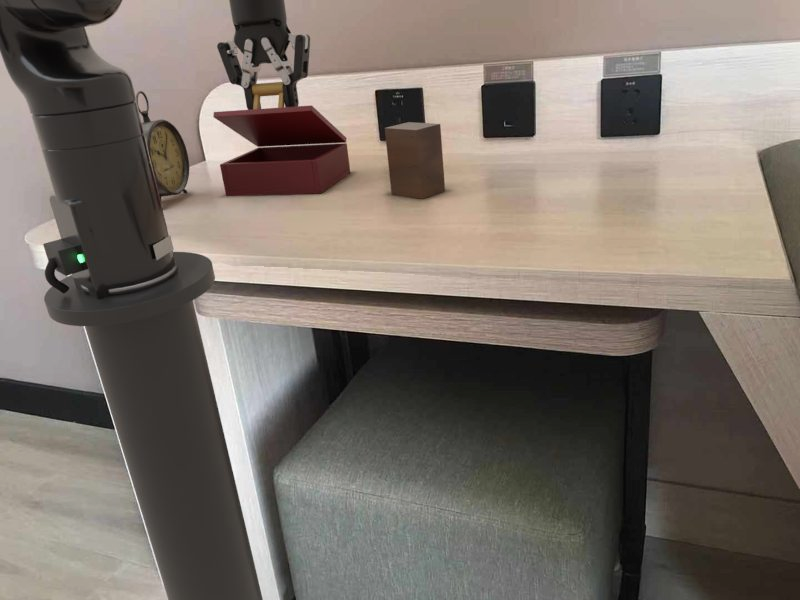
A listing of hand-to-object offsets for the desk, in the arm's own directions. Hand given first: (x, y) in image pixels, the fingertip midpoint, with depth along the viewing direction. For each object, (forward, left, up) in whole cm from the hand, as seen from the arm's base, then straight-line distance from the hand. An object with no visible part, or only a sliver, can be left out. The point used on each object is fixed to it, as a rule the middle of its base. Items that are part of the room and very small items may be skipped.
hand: (273, 112), depth 100 cm
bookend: (+6, -22, -11) cm, 26 cm away
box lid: (+2, +1, -3) cm, 4 cm away
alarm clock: (-15, +11, -11) cm, 22 cm away
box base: (+1, +1, -11) cm, 11 cm away
